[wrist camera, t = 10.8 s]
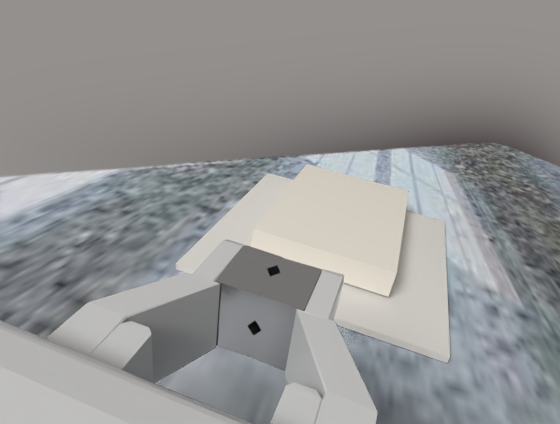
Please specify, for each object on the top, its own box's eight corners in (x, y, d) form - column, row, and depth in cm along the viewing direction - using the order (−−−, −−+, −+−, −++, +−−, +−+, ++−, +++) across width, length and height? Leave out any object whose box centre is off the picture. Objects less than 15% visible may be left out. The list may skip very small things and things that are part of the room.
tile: (387, 300, 28) (401, 212, 40) (396, 272, 27) (408, 191, 39) (249, 255, 30) (302, 185, 42) (253, 228, 29) (306, 164, 41)
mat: (442, 225, 40) (444, 221, 39) (447, 363, 24) (450, 357, 24) (267, 177, 43) (268, 173, 43) (175, 269, 28) (175, 263, 28)
